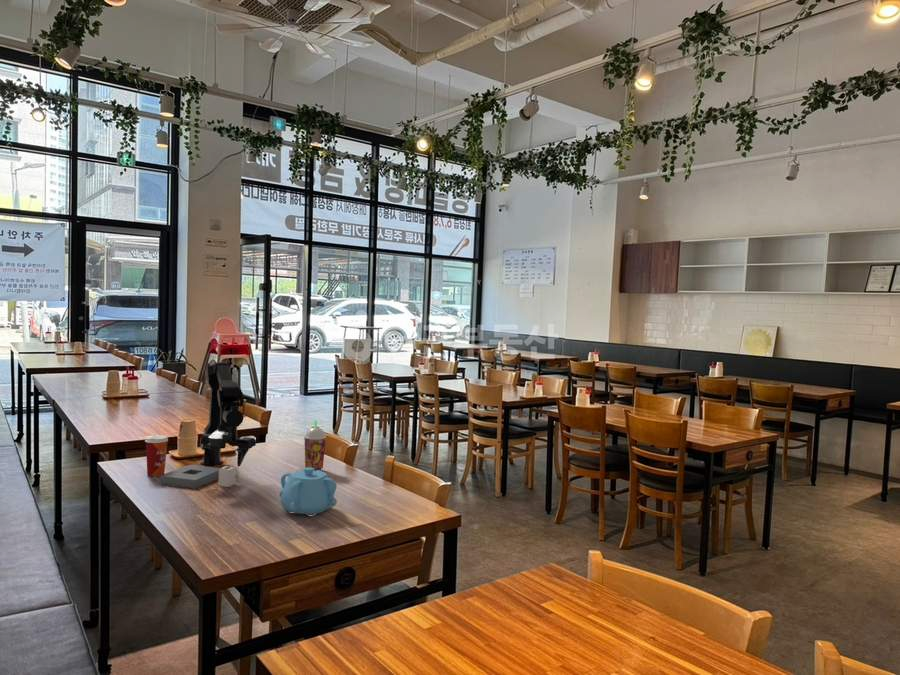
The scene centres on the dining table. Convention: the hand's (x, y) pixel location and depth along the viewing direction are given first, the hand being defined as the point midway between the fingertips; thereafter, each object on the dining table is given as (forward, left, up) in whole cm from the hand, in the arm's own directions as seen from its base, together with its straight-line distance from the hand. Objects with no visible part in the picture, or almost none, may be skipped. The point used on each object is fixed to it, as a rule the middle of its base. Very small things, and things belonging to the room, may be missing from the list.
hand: (227, 464), depth 214 cm
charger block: (0, 0, -7) cm, 7 cm away
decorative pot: (+14, +38, -7) cm, 41 cm away
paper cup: (-1, -30, -7) cm, 31 cm away
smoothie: (-28, +20, -7) cm, 35 cm away
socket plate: (0, -14, -7) cm, 16 cm away
